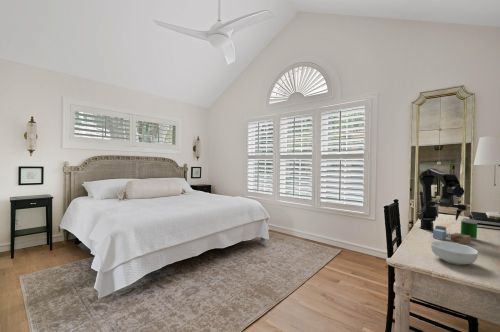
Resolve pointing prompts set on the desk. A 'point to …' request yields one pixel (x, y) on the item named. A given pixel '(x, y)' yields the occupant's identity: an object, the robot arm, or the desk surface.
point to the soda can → (469, 228)
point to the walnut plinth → (460, 238)
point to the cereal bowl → (454, 252)
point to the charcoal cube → (440, 228)
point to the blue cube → (439, 234)
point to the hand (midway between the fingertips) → (446, 218)
